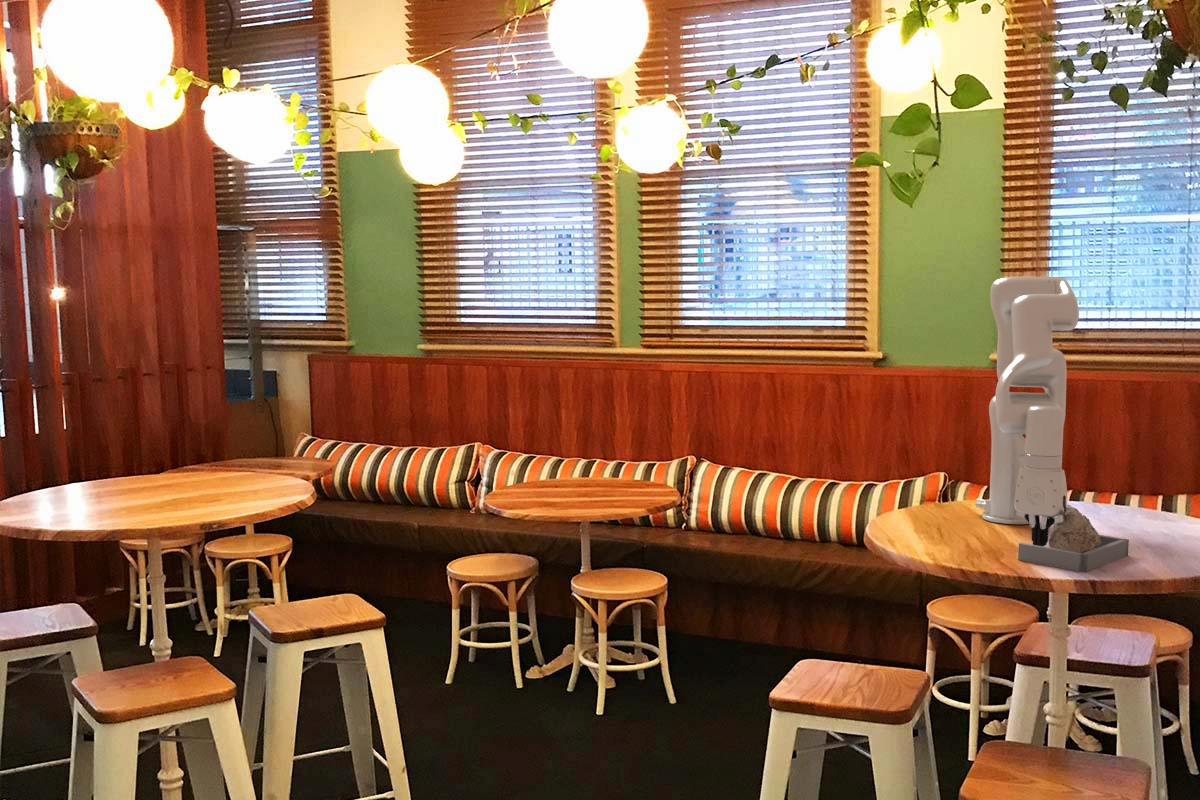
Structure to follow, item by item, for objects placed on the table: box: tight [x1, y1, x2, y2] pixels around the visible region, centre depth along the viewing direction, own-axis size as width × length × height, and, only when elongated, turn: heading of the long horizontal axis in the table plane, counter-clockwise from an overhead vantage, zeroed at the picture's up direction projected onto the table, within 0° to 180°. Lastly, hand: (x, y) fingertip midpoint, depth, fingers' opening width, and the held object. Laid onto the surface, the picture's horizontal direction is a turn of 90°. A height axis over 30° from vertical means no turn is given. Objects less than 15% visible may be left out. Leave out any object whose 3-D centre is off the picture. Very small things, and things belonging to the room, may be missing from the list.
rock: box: [1048, 504, 1101, 553], centre depth 249 cm, size 14×10×8 cm
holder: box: [1017, 534, 1130, 573], centre depth 247 cm, size 14×21×4 cm, turn 133°
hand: (1039, 545), depth 253 cm, fingers closed
